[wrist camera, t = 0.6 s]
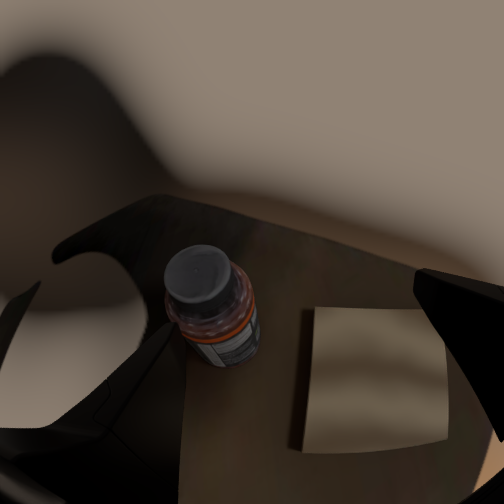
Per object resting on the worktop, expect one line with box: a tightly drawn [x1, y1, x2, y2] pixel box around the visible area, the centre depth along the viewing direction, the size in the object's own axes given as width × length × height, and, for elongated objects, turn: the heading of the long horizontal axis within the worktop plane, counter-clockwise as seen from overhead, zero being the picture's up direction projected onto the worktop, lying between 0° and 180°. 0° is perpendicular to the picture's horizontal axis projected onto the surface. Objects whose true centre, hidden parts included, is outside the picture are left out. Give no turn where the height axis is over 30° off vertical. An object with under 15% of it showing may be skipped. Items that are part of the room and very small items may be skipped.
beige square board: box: [301, 307, 448, 453], centre depth 19 cm, size 13×13×1 cm
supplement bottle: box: [164, 245, 261, 369], centre depth 20 cm, size 6×6×11 cm
